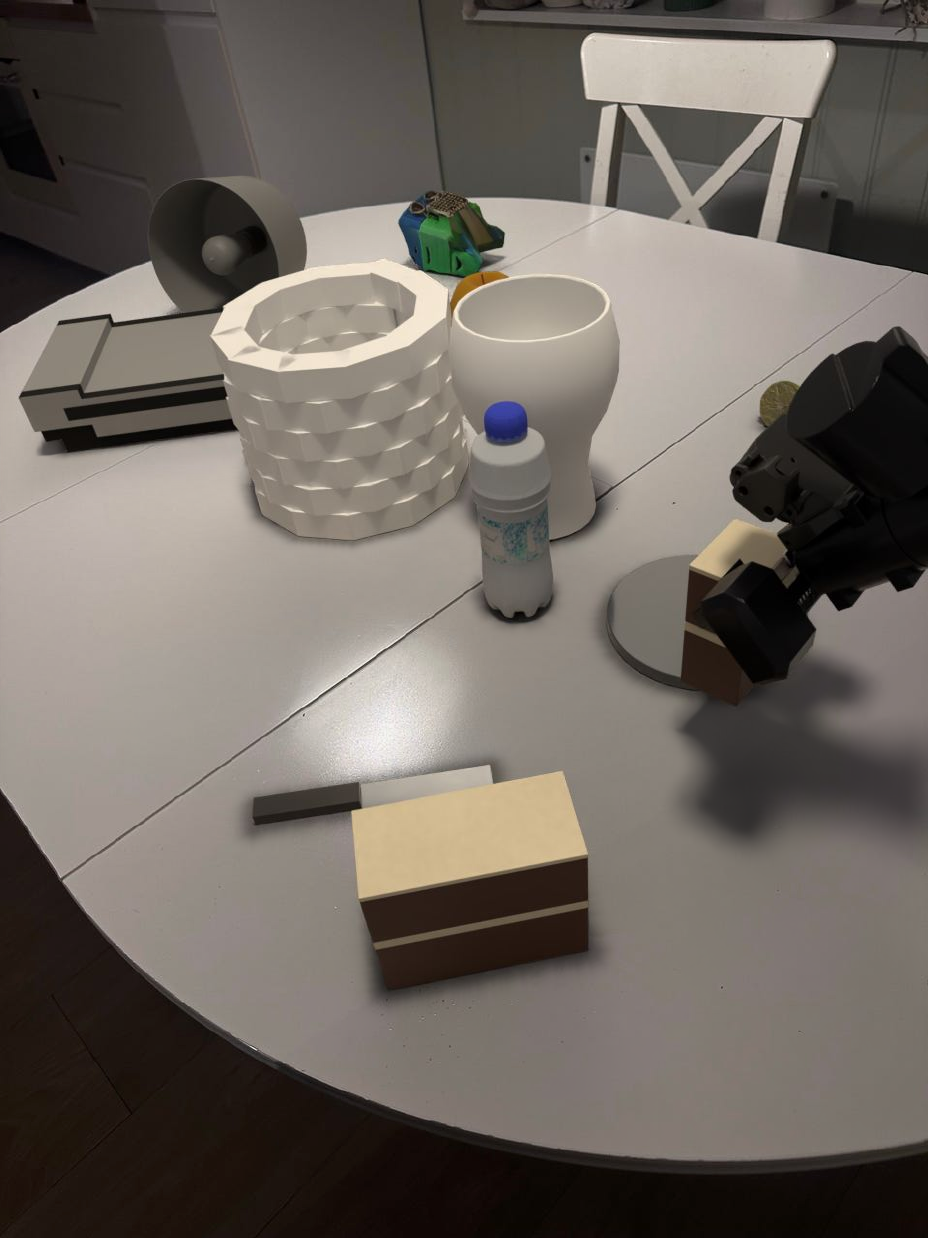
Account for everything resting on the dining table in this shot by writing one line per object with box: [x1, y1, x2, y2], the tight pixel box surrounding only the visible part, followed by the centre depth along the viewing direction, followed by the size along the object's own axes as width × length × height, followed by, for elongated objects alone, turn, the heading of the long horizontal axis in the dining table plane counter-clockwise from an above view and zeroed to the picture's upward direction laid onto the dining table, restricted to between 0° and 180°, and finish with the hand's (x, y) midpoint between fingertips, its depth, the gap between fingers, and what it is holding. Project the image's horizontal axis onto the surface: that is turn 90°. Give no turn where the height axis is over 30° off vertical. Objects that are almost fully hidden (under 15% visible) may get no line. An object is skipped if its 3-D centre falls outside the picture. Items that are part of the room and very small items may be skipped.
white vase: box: [449, 273, 621, 541], centre depth 87 cm, size 15×15×22 cm
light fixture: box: [147, 175, 308, 313], centre depth 137 cm, size 20×25×27 cm
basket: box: [210, 258, 470, 541], centre depth 96 cm, size 25×24×19 cm
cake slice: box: [680, 518, 790, 708], centre depth 64 cm, size 4×6×11 cm
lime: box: [759, 380, 801, 427], centre depth 100 cm, size 4×5×5 cm
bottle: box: [468, 401, 554, 618], centre depth 77 cm, size 7×7×20 cm
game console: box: [18, 308, 238, 453], centre depth 116 cm, size 21×32×8 cm, turn 96°
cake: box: [350, 770, 590, 991], centre depth 57 cm, size 13×6×11 cm, turn 99°
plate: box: [606, 554, 700, 691], centre depth 79 cm, size 16×16×1 cm
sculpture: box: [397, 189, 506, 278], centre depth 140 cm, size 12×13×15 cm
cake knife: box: [251, 764, 495, 825], centre depth 69 cm, size 18×2×1 cm, turn 96°
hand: (719, 595), depth 64 cm, fingers closed on cake slice, 6 cm apart
